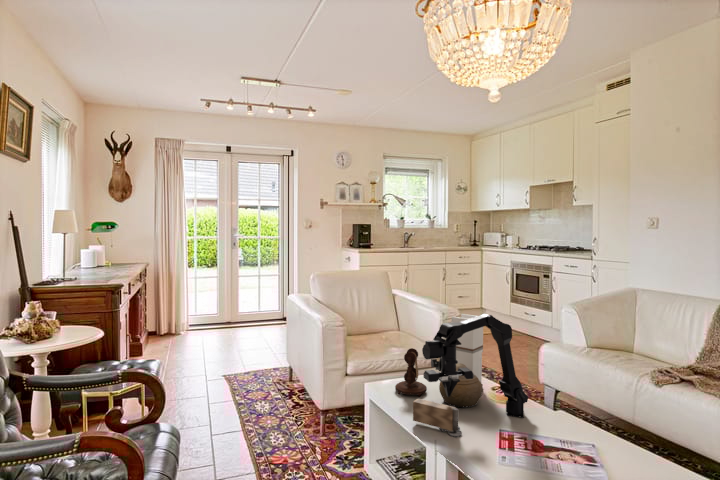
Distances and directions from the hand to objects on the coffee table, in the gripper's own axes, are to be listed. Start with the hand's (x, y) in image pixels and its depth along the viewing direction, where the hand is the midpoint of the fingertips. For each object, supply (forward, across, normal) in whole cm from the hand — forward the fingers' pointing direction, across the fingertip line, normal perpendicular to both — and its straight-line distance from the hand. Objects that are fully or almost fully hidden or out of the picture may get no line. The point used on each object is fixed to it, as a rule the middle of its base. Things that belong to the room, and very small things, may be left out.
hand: (448, 396), depth 169 cm
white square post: (+12, -27, -37) cm, 48 cm away
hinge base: (+12, 0, +6) cm, 13 cm away
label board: (+12, 0, -6) cm, 13 cm away
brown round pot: (+12, -16, -21) cm, 29 cm away
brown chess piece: (+12, +1, -38) cm, 40 cm away
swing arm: (+10, +5, 0) cm, 11 cm away
